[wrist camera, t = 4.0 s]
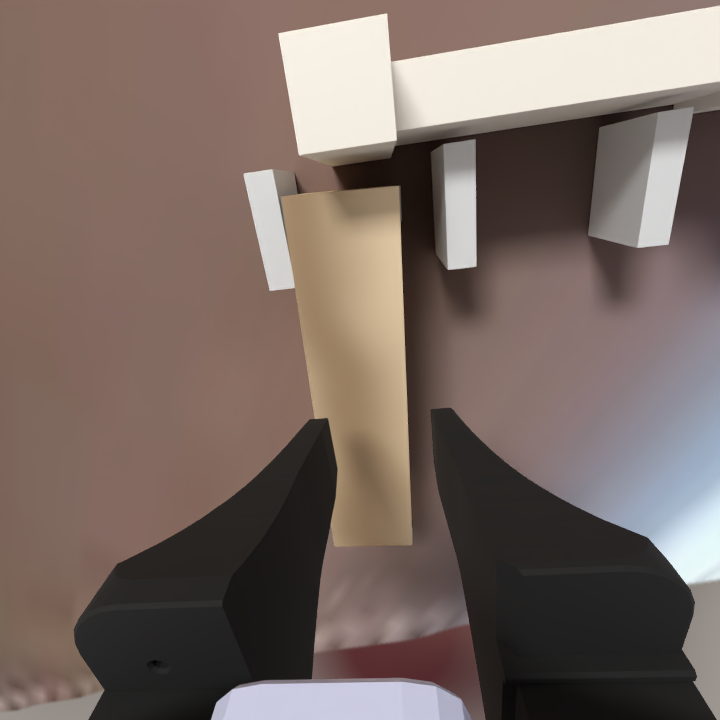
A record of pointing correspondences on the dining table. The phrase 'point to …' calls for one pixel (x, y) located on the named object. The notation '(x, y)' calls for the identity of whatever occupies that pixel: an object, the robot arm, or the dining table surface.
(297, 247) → the rail
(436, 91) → the white comb rack
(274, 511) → the robot arm
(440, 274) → the dining table surface
